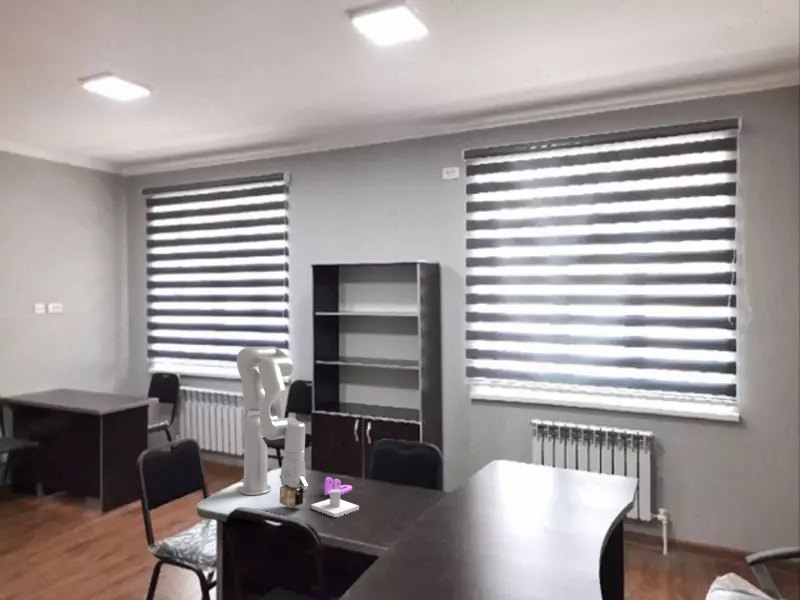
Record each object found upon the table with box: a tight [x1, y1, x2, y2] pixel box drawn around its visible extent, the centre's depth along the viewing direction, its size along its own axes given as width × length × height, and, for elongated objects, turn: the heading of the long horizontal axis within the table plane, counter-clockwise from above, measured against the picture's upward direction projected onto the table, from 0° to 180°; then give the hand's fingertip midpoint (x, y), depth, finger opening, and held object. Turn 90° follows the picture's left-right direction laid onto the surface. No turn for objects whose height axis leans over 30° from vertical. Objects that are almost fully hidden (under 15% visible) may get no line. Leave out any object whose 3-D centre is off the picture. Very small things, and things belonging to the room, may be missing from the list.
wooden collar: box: [279, 485, 307, 509], centre depth 216 cm, size 7×7×6 cm
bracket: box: [323, 476, 353, 497], centre depth 236 cm, size 13×6×7 cm, turn 146°
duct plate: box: [310, 489, 360, 518], centre depth 216 cm, size 14×12×7 cm
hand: (292, 501), depth 216 cm, fingers closed on wooden collar, 7 cm apart
